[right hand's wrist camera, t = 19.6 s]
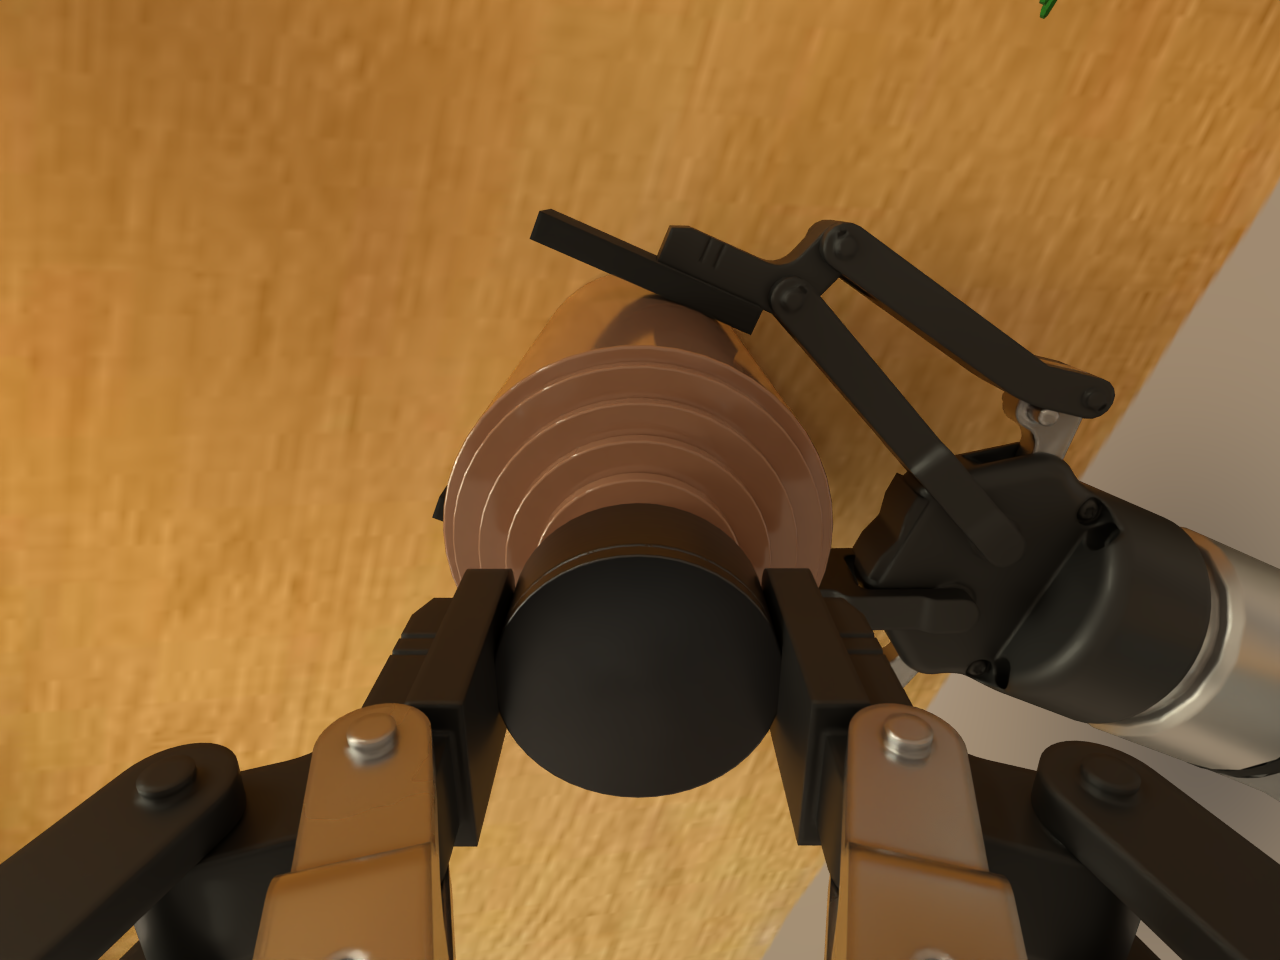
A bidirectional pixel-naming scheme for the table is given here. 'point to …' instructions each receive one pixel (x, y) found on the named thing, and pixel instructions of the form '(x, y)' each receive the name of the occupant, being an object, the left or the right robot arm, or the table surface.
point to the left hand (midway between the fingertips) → (491, 366)
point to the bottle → (636, 438)
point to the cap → (638, 653)
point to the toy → (1046, 7)
